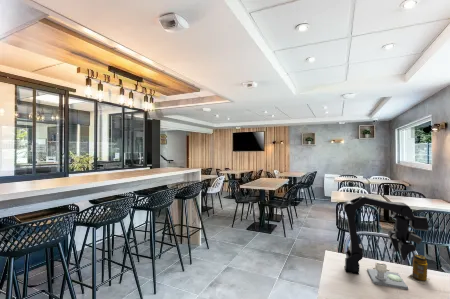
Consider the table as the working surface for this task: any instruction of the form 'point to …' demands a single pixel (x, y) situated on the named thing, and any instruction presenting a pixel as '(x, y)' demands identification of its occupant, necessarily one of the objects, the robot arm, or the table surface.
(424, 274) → the condiment
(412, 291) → the table surface
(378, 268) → the cream rounded dome
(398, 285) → the post board
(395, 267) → the table surface
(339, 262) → the table surface
